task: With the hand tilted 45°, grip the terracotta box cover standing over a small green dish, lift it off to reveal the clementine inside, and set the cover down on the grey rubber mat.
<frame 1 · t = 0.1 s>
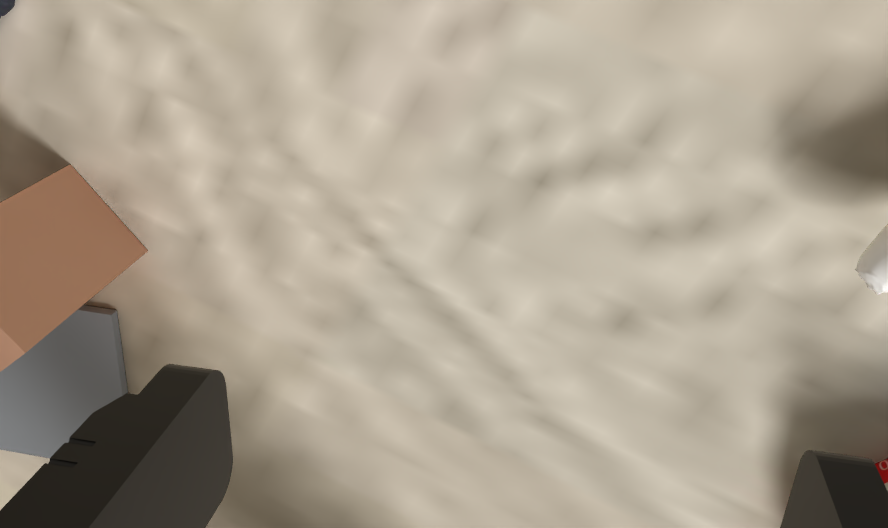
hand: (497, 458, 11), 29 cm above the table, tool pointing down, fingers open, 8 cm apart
cover: (76, 235, 46), on the table
mat: (40, 378, 52), on the table
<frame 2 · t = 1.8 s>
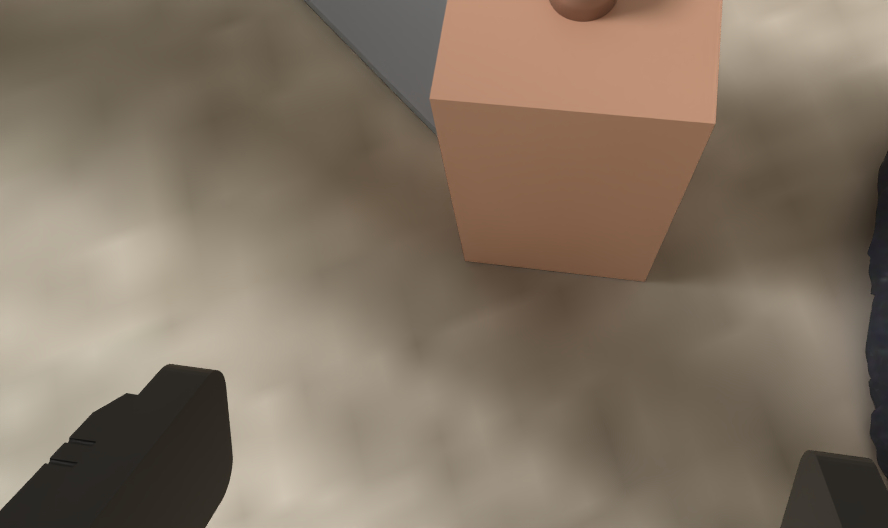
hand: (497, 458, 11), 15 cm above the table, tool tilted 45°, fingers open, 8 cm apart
cover: (563, 189, 29), on the table
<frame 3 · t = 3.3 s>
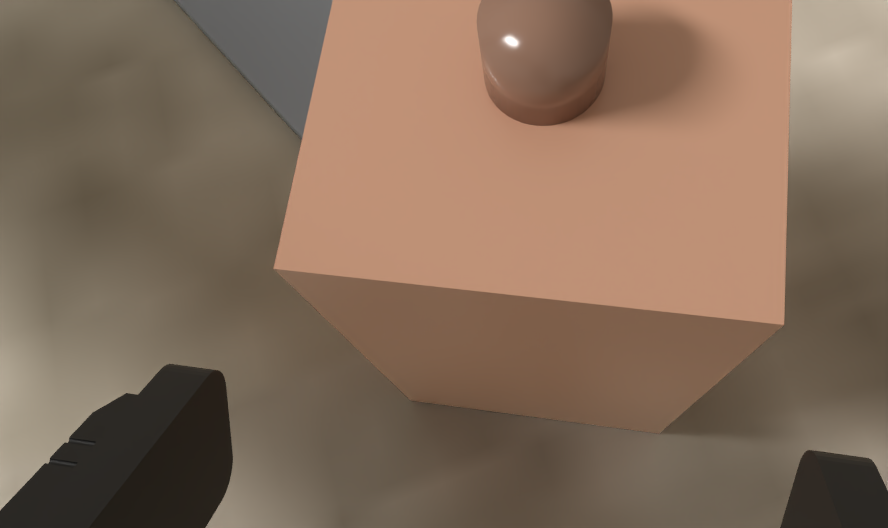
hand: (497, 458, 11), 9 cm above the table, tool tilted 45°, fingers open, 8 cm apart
cover: (545, 297, 21), on the table
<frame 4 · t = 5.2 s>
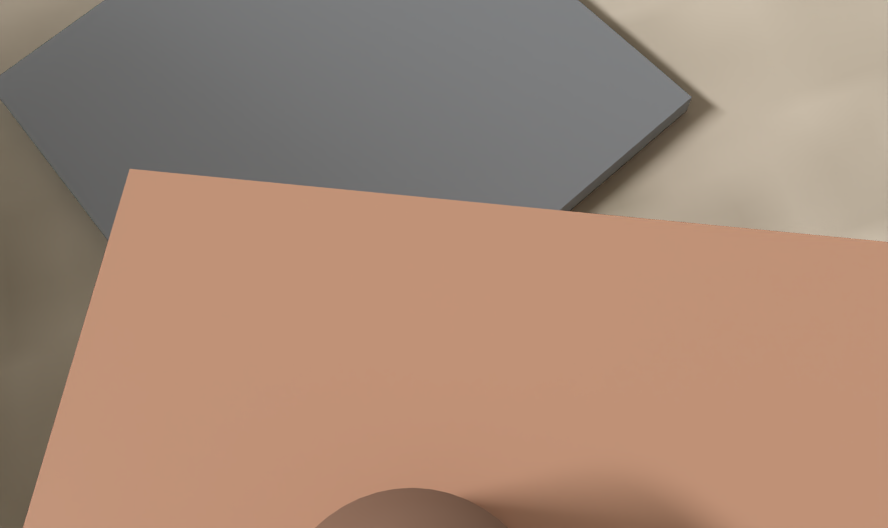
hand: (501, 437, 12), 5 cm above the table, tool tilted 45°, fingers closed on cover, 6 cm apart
mat: (328, 103, 20), on the table
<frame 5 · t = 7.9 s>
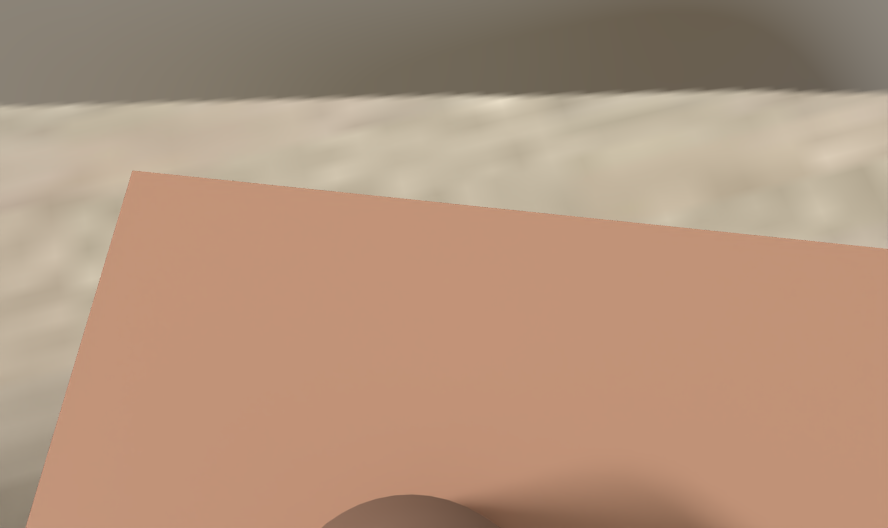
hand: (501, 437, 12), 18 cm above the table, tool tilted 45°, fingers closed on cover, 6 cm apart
when the fingers open (7 cm above the table, at t = 10.6 s): cover drops 1 cm, resting on mat.
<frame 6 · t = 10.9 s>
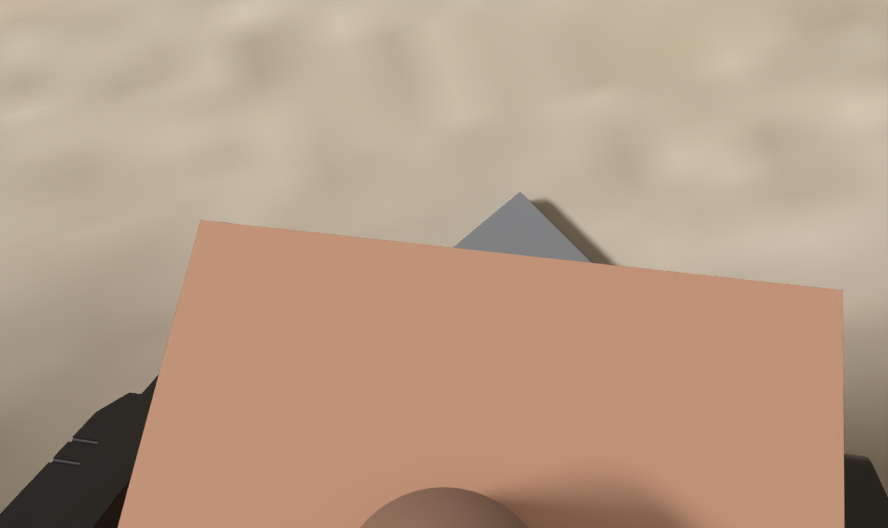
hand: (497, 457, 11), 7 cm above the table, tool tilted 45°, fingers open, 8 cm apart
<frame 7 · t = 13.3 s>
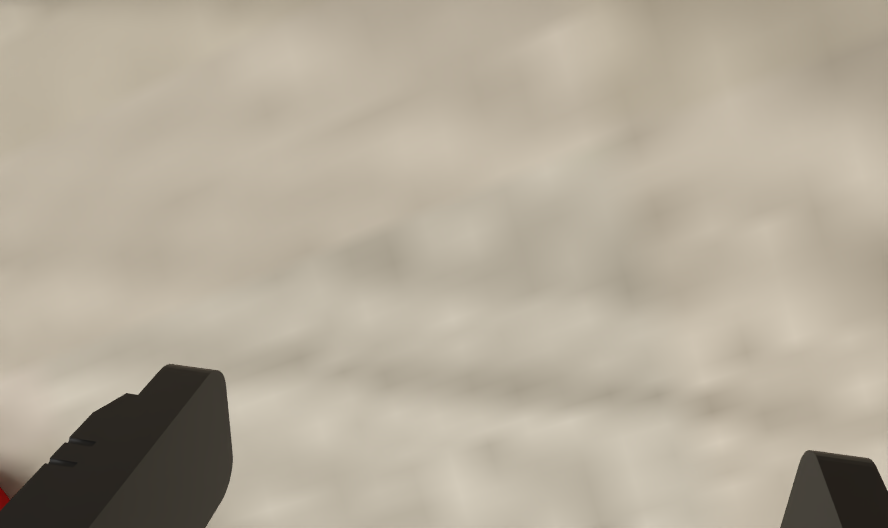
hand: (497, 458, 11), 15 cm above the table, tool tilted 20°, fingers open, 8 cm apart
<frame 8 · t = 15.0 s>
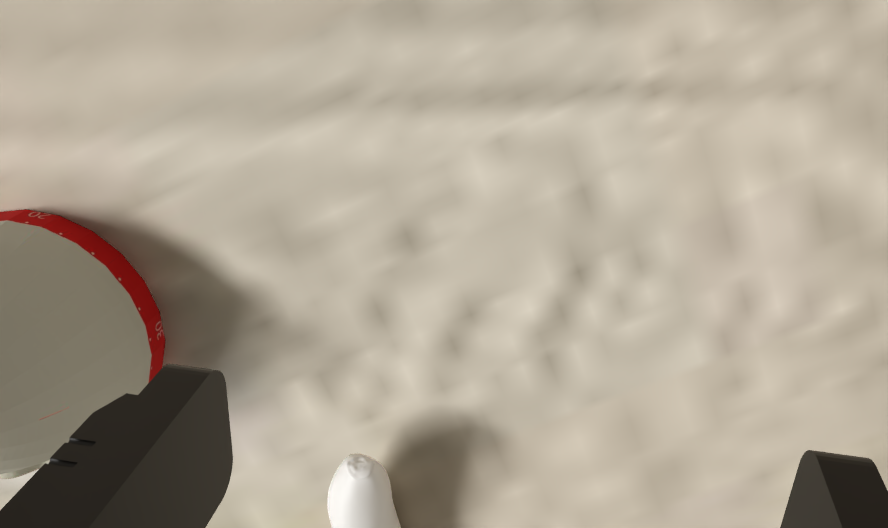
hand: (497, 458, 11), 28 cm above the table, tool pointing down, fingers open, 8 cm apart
kitchen timer: (57, 316, 48), on the table
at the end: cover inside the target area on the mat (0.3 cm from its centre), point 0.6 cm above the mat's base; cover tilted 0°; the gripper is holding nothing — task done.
